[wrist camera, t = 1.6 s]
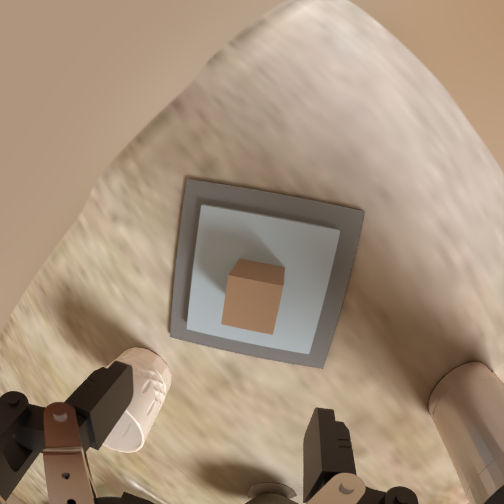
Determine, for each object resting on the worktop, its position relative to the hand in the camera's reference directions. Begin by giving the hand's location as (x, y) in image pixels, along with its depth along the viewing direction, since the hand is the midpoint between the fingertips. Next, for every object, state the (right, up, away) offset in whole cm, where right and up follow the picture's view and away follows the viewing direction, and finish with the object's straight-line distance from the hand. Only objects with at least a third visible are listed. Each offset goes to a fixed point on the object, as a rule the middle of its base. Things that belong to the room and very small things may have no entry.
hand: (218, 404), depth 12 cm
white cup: (-11, -7, +22) cm, 25 cm away
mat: (+2, +4, +17) cm, 18 cm away
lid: (+2, +4, +17) cm, 17 cm away
